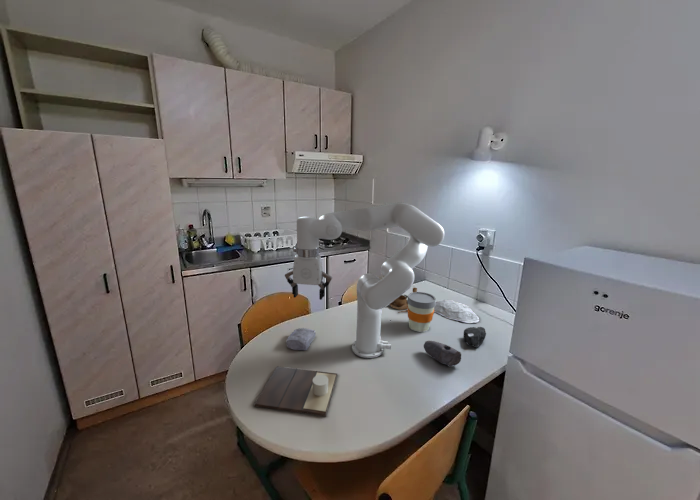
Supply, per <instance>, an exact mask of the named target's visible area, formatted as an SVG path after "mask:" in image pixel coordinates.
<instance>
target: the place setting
mask: <svg viewBox="0 0 700 500" xmlns="http://www.w3.org/2000/svg"><path fill="white" fill-rule="evenodd" d="M413 292H418V288H417V287H412V293H413ZM407 300H408V296H405V295H404V294H402V295H401V296H400V297H398V298H397V299H396V300H394V301H393V302H392V303H390V304H389V305H388V306H390V307H391V308H392V309H394V310H399V311H398V312H397V314H399V313H404V312H408V310H407V306H408V302H407Z"/></svg>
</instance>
